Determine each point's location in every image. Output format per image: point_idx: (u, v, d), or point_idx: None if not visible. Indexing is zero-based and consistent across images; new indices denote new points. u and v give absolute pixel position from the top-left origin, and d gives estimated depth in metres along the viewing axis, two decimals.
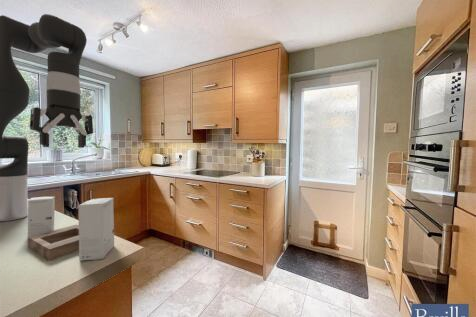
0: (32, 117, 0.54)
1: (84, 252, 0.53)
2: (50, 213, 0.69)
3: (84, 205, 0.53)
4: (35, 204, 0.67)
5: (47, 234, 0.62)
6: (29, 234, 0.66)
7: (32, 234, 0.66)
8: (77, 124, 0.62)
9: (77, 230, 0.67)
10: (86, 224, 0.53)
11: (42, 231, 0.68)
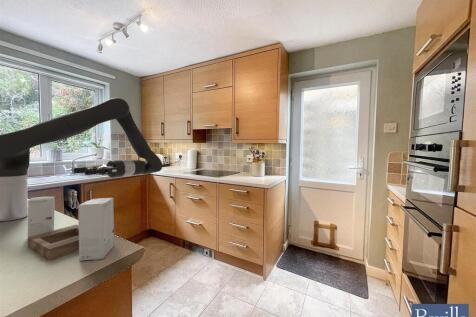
0: (110, 171, 0.81)
1: (84, 252, 0.53)
2: (50, 213, 0.69)
3: (84, 205, 0.53)
4: (35, 204, 0.67)
5: (47, 234, 0.62)
6: (29, 234, 0.66)
7: (32, 234, 0.66)
8: None
9: (77, 230, 0.67)
10: (86, 224, 0.53)
11: (42, 231, 0.68)
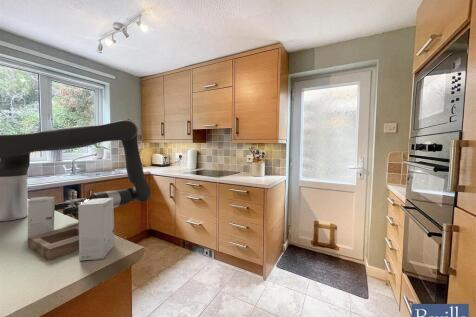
0: None
1: (84, 252, 0.53)
2: (50, 213, 0.69)
3: (84, 205, 0.53)
4: (35, 204, 0.67)
5: (47, 234, 0.62)
6: (29, 234, 0.66)
7: (32, 234, 0.66)
8: None
9: (77, 230, 0.67)
10: (86, 224, 0.53)
11: (42, 231, 0.68)
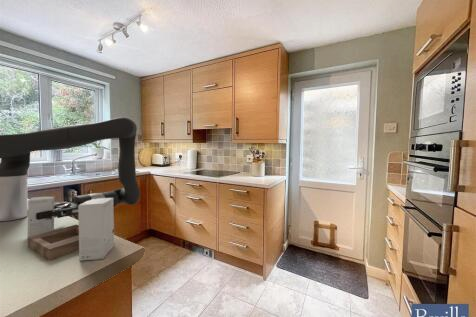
0: (69, 212, 0.70)
1: (84, 252, 0.53)
2: None
3: (84, 205, 0.53)
4: (35, 204, 0.67)
5: (47, 234, 0.62)
6: (29, 234, 0.66)
7: (32, 234, 0.66)
8: None
9: (77, 230, 0.67)
10: (86, 224, 0.53)
11: (42, 231, 0.68)
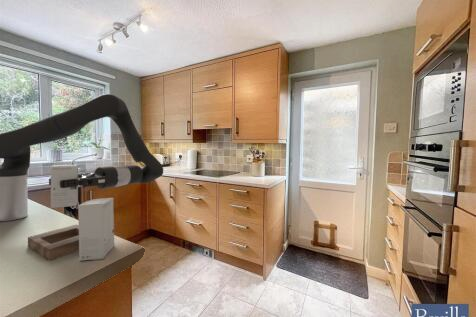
0: (95, 182, 0.63)
1: (84, 252, 0.53)
2: None
3: (84, 205, 0.53)
4: (58, 171, 0.59)
5: (47, 234, 0.62)
6: (52, 205, 0.59)
7: (56, 205, 0.59)
8: None
9: (77, 230, 0.67)
10: (86, 224, 0.53)
11: (66, 202, 0.60)
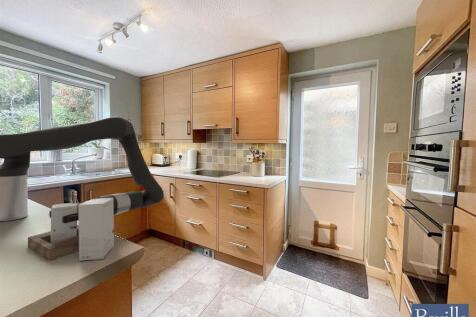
0: None
1: (84, 252, 0.53)
2: (75, 222, 0.62)
3: (84, 205, 0.53)
4: (58, 212, 0.59)
5: (47, 234, 0.62)
6: None
7: None
8: None
9: (77, 230, 0.67)
10: (86, 224, 0.53)
11: None
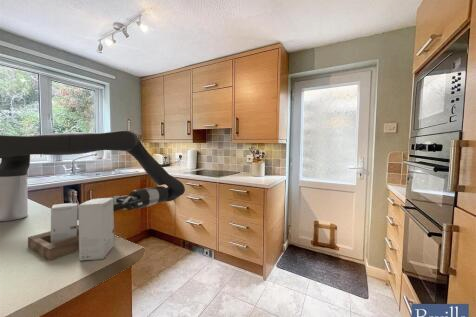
0: (136, 205, 0.74)
1: (84, 252, 0.53)
2: (75, 222, 0.62)
3: (84, 205, 0.53)
4: (58, 212, 0.59)
5: (47, 234, 0.62)
6: None
7: None
8: None
9: (77, 230, 0.67)
10: (86, 224, 0.53)
11: None
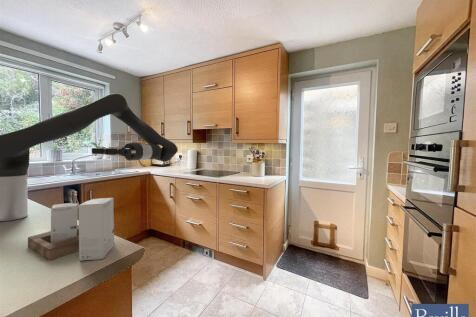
0: (130, 152, 0.79)
1: (84, 252, 0.53)
2: (75, 222, 0.62)
3: (84, 205, 0.53)
4: (58, 212, 0.59)
5: (47, 234, 0.62)
6: None
7: None
8: (113, 155, 0.83)
9: (77, 230, 0.67)
10: (86, 224, 0.53)
11: None
